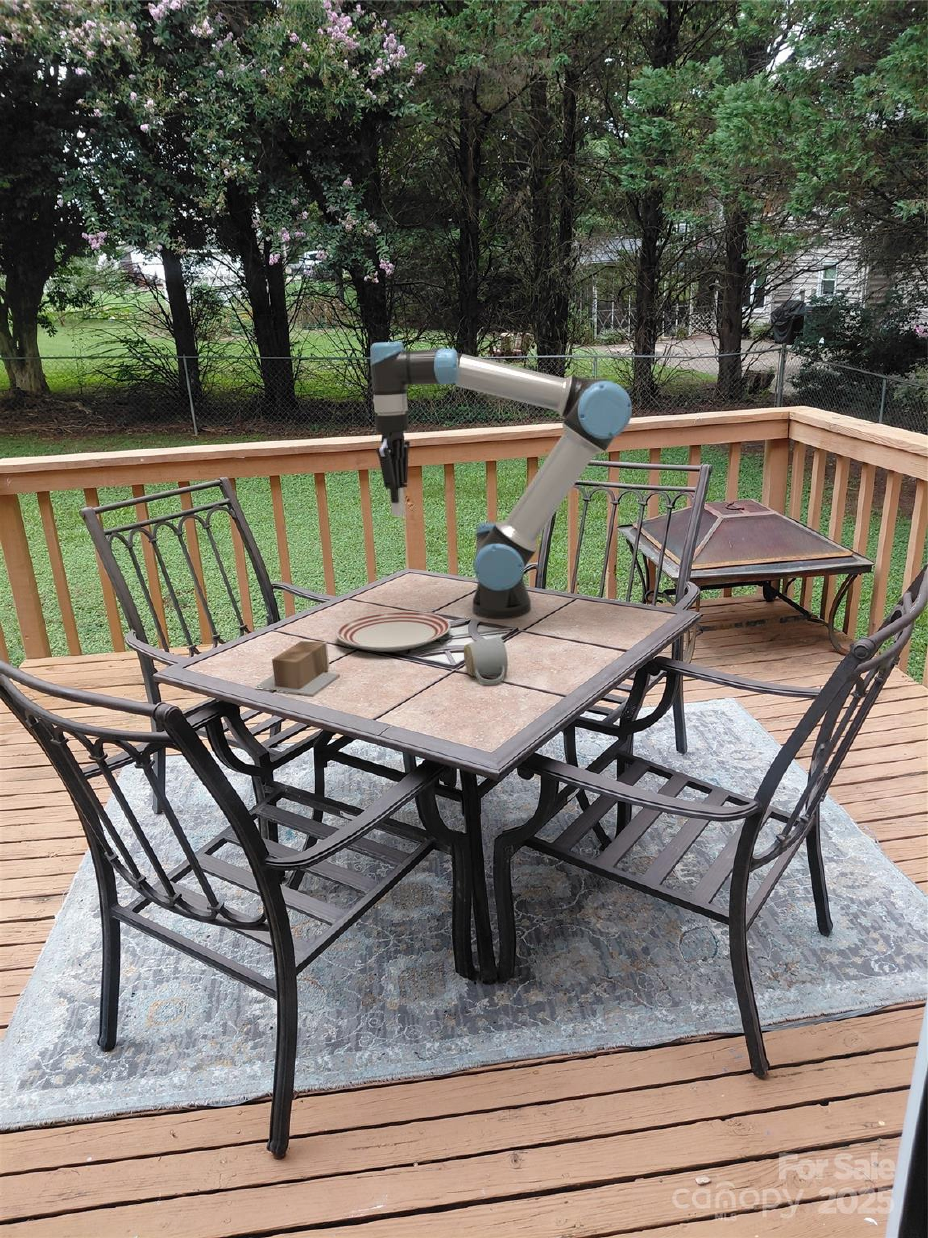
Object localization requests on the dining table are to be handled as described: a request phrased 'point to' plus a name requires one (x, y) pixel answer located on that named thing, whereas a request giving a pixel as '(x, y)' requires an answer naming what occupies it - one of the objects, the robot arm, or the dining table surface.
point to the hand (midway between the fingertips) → (398, 515)
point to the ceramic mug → (486, 659)
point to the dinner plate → (393, 630)
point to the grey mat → (308, 689)
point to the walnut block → (300, 664)
